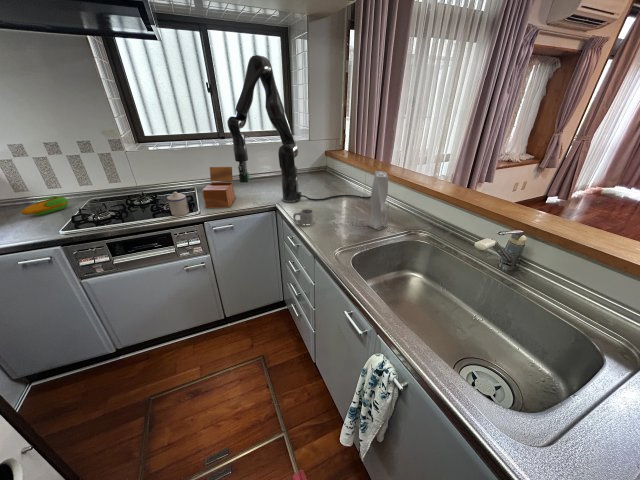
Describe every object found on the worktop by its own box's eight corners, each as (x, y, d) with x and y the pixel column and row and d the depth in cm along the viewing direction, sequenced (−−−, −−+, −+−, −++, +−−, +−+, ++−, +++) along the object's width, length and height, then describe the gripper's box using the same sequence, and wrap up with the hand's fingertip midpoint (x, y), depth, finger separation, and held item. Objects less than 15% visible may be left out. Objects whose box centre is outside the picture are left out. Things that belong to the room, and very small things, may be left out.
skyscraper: (375, 231, 126) (383, 173, 113) (363, 225, 132) (369, 169, 119) (387, 227, 131) (396, 170, 117) (375, 221, 136) (382, 166, 123)
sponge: (249, 180, 168) (248, 172, 166) (248, 182, 164) (247, 174, 161) (241, 180, 168) (240, 172, 165) (240, 182, 163) (238, 174, 161)
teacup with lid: (192, 212, 144) (187, 192, 138) (175, 217, 138) (169, 196, 132) (183, 206, 151) (178, 187, 145) (166, 211, 145) (160, 190, 139)
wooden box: (213, 197, 165) (210, 181, 160) (235, 197, 166) (232, 180, 161) (205, 207, 150) (201, 190, 145) (229, 207, 151) (226, 190, 146)
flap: (210, 181, 160) (210, 181, 160) (232, 181, 161) (232, 181, 161) (209, 167, 158) (209, 167, 159) (231, 166, 159) (231, 166, 160)
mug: (313, 221, 136) (313, 208, 133) (313, 226, 130) (313, 214, 127) (294, 220, 136) (293, 208, 133) (293, 226, 130) (292, 214, 127)
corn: (67, 193, 145) (20, 206, 129) (74, 206, 149) (29, 220, 133) (60, 192, 148) (12, 204, 132) (67, 205, 151) (21, 219, 135)
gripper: (245, 154, 151) (249, 184, 160) (249, 150, 164) (252, 177, 172) (231, 155, 151) (236, 184, 159) (236, 150, 163) (240, 177, 172)
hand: (244, 180), depth 166 cm, fingers closed on sponge, 5 cm apart
